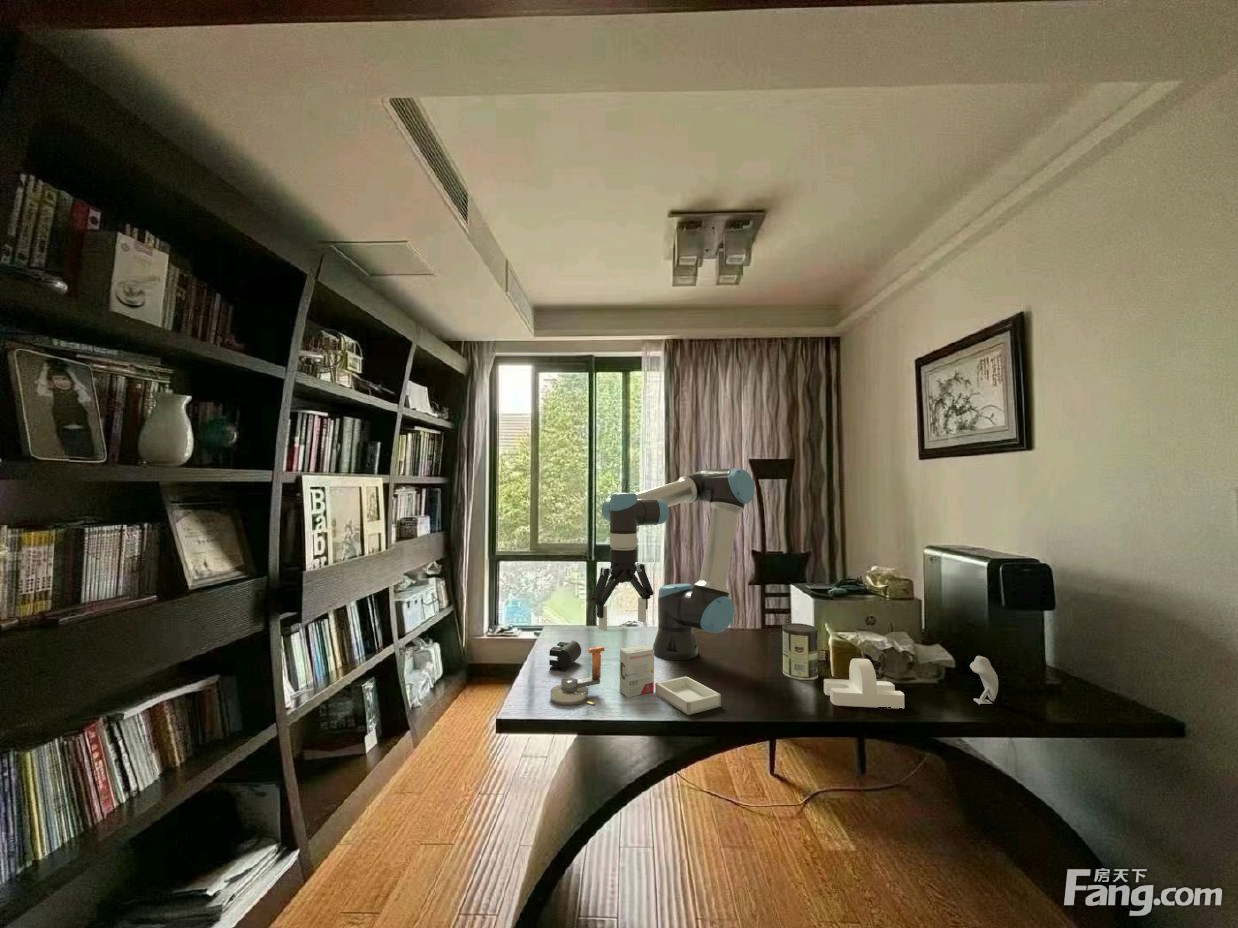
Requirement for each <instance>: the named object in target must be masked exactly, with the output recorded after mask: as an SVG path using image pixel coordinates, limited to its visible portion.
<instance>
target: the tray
mask: <svg viewBox="0 0 1238 928" xmlns="http://www.w3.org/2000/svg"><path fill="white" fill-rule="evenodd" d="M654 685H655V686H654V692H655V693H654V694H655V695H656V696H657V697H659V698H661V699H662V700H664V701H665V702H666V703H668V704H671V705H672V706H673V707H675V708H676V709H678V710H679V711H681V712H682V713H684V714H686V715H687V716H690V715H693V714H696V713H701V712H706V711H708V710H713V709H717V708H721V707H722V694H721V693H719V692H717V691H715V690H713V689H711V688H710V687H708V686H706V685H704V684H702V683H700V682H699V681H696V680H694V679H692V678H691V677H688V676H686V675H685V676H681V677H677V678H672V679H668V680H667V679H666V680H663V681H659V682H654Z"/></svg>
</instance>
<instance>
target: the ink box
mask: <svg viewBox="0 0 1238 928" xmlns="http://www.w3.org/2000/svg"><path fill="white" fill-rule="evenodd" d="M619 651H620V652H619V692H620V693H621V694H622V695H624V696H625V697H626V698H631V697H635V696H641V695H644V694H645V695H646V694H649V693H653V692H655V686H654V685H655V681H654V680H655V654H654V650H653V647H650V646H648V645H647V644H643V645H642V644H641V645H636V646H630V647H629V646H628V647H621V648H620V649H619Z"/></svg>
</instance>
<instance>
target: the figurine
mask: <svg viewBox="0 0 1238 928" xmlns="http://www.w3.org/2000/svg"><path fill="white" fill-rule="evenodd" d="M969 667H970V669H971V670H972V672H973V673H975V674H978V675H979V677H980V679H981V682H982V685H983V688H984V691H983V692H982V694H981V695H980V697H979V698H973V701H974V702H976V703H977V704H978V705H980V704H993V702H995V700H996V698H997V696H998V695H997V694H998V692H999V679H998V678H999V677H998V675H997V673H996V671H995V669H994V668H993V666H992V665H991V662H990V660H989V659H988V658H987V657H985V656H981V655H977V656H975V658H974V661H972V662H971V663H970V664H969ZM986 697H987V698H988V699H986Z"/></svg>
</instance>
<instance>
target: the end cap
mask: <svg viewBox="0 0 1238 928" xmlns="http://www.w3.org/2000/svg"><path fill="white" fill-rule="evenodd" d="M548 653H549V657H556V659H548V660H549V662H548V663H549V664H548V665H549V666H550V667H549V670H550V671H557V672H564V671H566V670H567V669H568V668H570V666H571V665H572V664H573V663H575V662H576V661H577V660H578V659H579V657H580V656H581V655H582V646H581V645H580V643H579V642H578V641H576V640H573V639H572V640H571V641H570V642H563V641H559V642H558V643H557V644H556V646H553V647H551V648H550V649H549V652H548Z"/></svg>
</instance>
